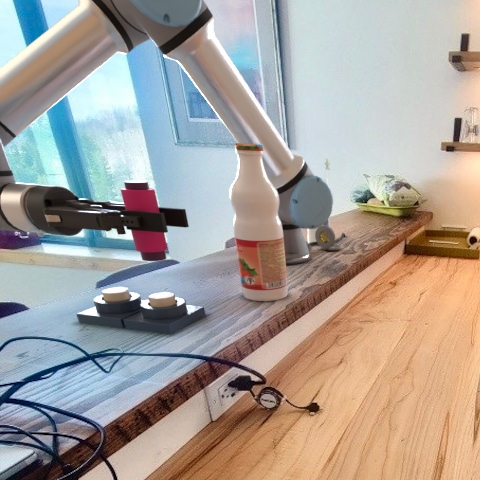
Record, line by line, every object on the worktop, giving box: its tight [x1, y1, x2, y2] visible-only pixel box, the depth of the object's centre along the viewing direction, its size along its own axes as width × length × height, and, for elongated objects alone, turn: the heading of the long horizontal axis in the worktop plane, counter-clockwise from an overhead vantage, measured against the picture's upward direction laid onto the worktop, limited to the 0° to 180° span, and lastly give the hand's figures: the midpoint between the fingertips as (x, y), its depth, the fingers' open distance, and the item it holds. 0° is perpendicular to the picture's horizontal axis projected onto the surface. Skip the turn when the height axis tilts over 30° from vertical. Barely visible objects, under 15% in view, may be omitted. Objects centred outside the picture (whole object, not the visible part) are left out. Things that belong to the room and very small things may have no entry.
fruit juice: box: [229, 142, 289, 302], centre depth 84 cm, size 9×9×28 cm
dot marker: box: [120, 180, 169, 262], centre depth 68 cm, size 5×5×12 cm
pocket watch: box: [315, 220, 343, 252], centre depth 132 cm, size 8×8×10 cm
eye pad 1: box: [101, 286, 130, 302], centre depth 75 cm, size 4×4×2 cm
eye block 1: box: [76, 291, 147, 329], centre depth 76 cm, size 10×8×4 cm
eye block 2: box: [123, 296, 206, 335], centre depth 75 cm, size 10×8×4 cm
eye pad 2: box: [147, 291, 176, 307], centre depth 73 cm, size 4×4×2 cm
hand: (175, 220), depth 67 cm, fingers closed on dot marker, 5 cm apart
